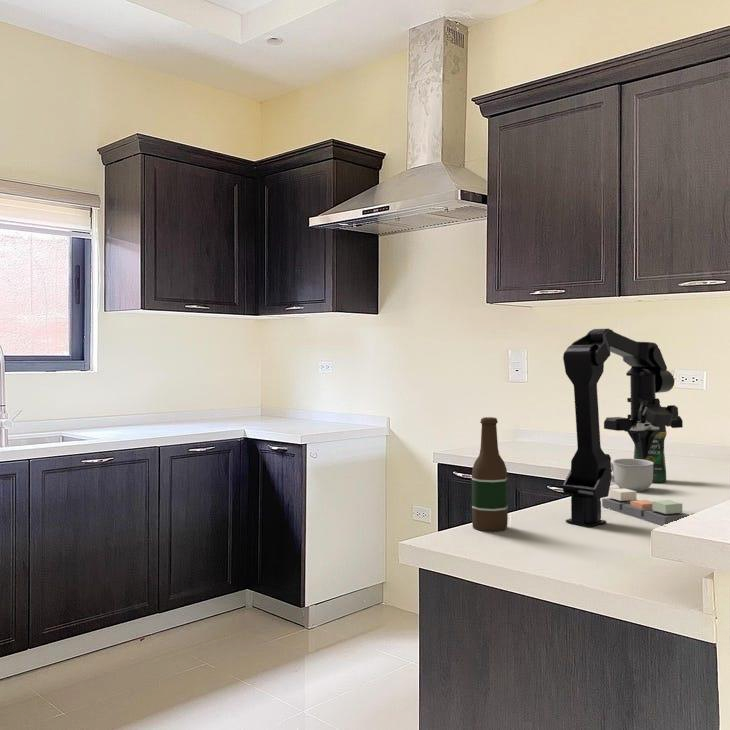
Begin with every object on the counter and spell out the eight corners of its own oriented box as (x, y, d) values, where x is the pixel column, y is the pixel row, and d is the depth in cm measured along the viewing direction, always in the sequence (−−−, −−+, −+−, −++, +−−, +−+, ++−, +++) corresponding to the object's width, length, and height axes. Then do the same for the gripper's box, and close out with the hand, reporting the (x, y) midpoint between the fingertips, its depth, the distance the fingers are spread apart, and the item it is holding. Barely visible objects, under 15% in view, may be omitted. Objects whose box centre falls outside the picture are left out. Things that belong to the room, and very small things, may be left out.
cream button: (636, 499, 180) (636, 491, 180) (620, 500, 178) (620, 492, 178) (625, 496, 184) (625, 488, 184) (609, 497, 183) (609, 489, 183)
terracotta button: (658, 511, 172) (658, 503, 172) (642, 513, 171) (642, 504, 171) (646, 508, 176) (646, 499, 176) (630, 509, 175) (630, 500, 175)
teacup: (656, 488, 209) (656, 459, 209) (650, 494, 200) (649, 464, 200) (606, 484, 216) (605, 457, 216) (597, 490, 207) (597, 461, 207)
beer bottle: (503, 523, 166) (502, 416, 165) (511, 531, 158) (510, 418, 158) (469, 524, 165) (468, 416, 165) (475, 532, 157) (474, 419, 157)
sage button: (682, 512, 164) (682, 503, 164) (665, 513, 163) (665, 504, 163) (668, 508, 169) (668, 499, 169) (652, 510, 167) (652, 501, 167)
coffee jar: (631, 482, 220) (631, 419, 220) (632, 478, 227) (632, 417, 227) (666, 483, 216) (666, 420, 216) (666, 479, 223) (666, 418, 223)
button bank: (691, 524, 163) (691, 515, 163) (664, 526, 161) (664, 517, 161) (626, 504, 186) (626, 496, 186) (602, 506, 184) (602, 498, 184)
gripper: (630, 397, 171) (631, 464, 171) (698, 394, 176) (699, 460, 176) (602, 394, 182) (603, 458, 182) (666, 392, 187) (667, 454, 187)
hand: (643, 458), depth 181 cm, fingers closed
